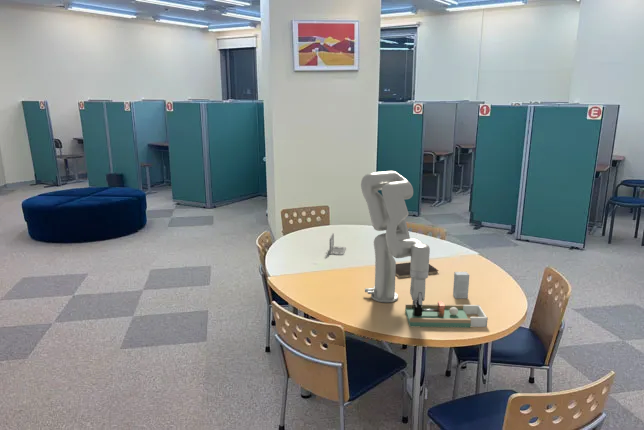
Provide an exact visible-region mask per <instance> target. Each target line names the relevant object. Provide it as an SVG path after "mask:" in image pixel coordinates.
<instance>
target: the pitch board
mask: <svg viewBox="0 0 644 430" xmlns="http://www.w3.org/2000/svg"><path fill="white" fill-rule="evenodd" d="M412 305H413V303H405V306H404V307H405V309H404V310H405V311H404V312H405V315H406V319H407V323H408V325H409V326H408V327H411V328H412V327H415V328H416V327H420V328H463V329H464V328H471V327H472V326H471V319H470V318H469V317H468V314H465V312H464V310H463V305H464V304H444V306H445V309H444V317H439V315H438V313H437V312H422V316H415V315H414V314H413V309H412ZM437 306H438V303H437V304H435V303H434V304H433V303H432V304H431V303H429V304H428V303H422V309H437ZM451 307H456V308H457V309H458V314H457V315H455V316H453V315H451V314H450V312H449V310H450V308H451Z"/></svg>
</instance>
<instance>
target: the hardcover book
mask: <svg viewBox="0 0 644 430" xmlns="http://www.w3.org/2000/svg"><path fill="white" fill-rule="evenodd" d="M410 264H411V261H410V262H401V263H396V274H395V277H396V276H397V278H399V279H401V278H402V279H403V278H410V277H411V276H410ZM438 273H439V270H438V269H437V268H436V267H434V266H433V265H431V264H430V263H429V271H428V275H436V274H438Z"/></svg>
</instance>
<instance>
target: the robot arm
mask: <svg viewBox="0 0 644 430" xmlns="http://www.w3.org/2000/svg"><path fill="white" fill-rule="evenodd" d="M360 188H361V193H362V196H363V198H364V200H365V202H366V205H367V209H368V213H369V217H370V221H371V224H372V227H373V230H375V231H377V232H381V231H382V232H383V233H380V234H378V235H377V236H375V237H374V239H373V249H374V255H375V256H374V257H375V259H374V260H375V261H374V263H375V265H374V266H375V267H374V285H373V287H371V288H369V287H365V288H364V292H365V293H367V295H370V296H371V299H372V300H373V301H375V302H378V303H386V304H387V303H393V302H395V301H398V299H399V294H398V293H397V292H396V275H395V274H396V264H397V262H396V259H402V258H403V259H404V258H408V257H410V262H411V264H410V276H411V279H410V288H409V289H410V290H409V294H410V297H411V300H412V302H413V301H415V308H414V315H415V316H422V304H423V302H425V298H426V285H427V284H426V281H427V280H426V279H428V278H429V274H428V271H429V264H430V254H431V253H430V251H431V249H430V246H429V245H428V244H426V243H423V242H422V241H421V240H420V239H418V238H415V237H411V236H410V232H409V229H408V225H407V221H406V218H407V217H408V216H409V214H410V213H409V211H408V207H407V204H406V201H405V200H409V199H411V198H412V197H413V195H414V188H413V185H412V184H411V182H410V181H409V180H408V179H407V178H405V177H404V176H403V175H401V174H400V173H398V172H397V171H395V170H386V171H385V170H384V171H374V172H369V173H367V174H365V175H364V176H362V178H361V182H360ZM379 191H381V193H380V192H379ZM384 231H385V232H384ZM417 299H418V300H417ZM417 302H418V303H417ZM412 309H413V305H412Z"/></svg>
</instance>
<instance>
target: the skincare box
mask: <svg viewBox="0 0 644 430" xmlns="http://www.w3.org/2000/svg"><path fill="white" fill-rule="evenodd" d="M469 286H470V274H469V273H468V272H467V271H454V273H453V289H452V296H453V297H454V299H468V298H469Z"/></svg>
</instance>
